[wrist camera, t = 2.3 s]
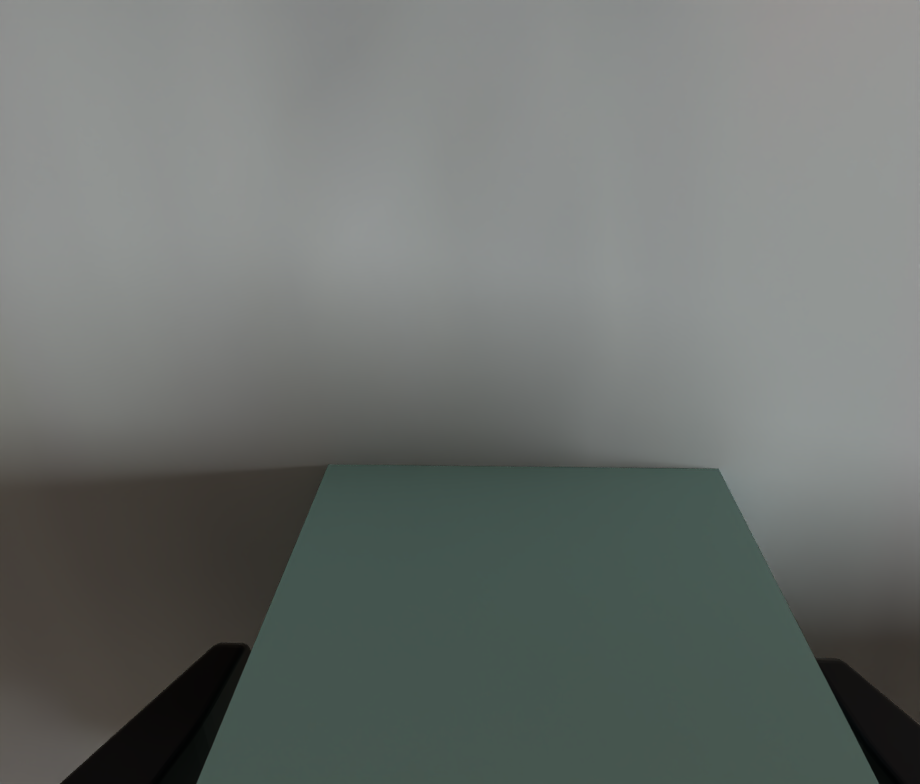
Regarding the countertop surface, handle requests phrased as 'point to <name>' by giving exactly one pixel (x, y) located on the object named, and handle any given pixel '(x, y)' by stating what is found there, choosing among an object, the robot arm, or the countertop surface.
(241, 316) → the countertop surface
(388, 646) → the block
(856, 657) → the countertop surface
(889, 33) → the countertop surface
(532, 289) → the countertop surface
